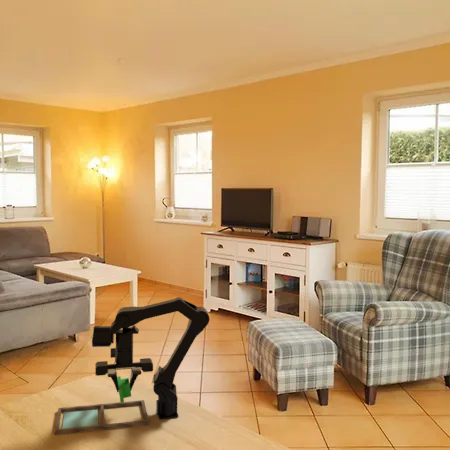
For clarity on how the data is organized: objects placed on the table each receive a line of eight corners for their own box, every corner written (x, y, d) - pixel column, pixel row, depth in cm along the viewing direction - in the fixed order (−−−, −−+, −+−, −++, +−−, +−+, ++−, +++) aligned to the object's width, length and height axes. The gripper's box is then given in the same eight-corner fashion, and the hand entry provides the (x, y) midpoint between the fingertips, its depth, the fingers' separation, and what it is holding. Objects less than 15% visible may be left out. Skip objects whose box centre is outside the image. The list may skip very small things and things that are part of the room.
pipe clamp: (132, 400, 158) (130, 387, 157) (120, 403, 157) (118, 389, 156) (129, 386, 168) (127, 374, 168) (118, 389, 168) (117, 376, 167)
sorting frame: (143, 403, 172) (143, 400, 172) (148, 424, 157) (148, 421, 157) (58, 411, 164) (58, 408, 164) (54, 434, 149) (54, 430, 149)
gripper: (149, 337, 171) (149, 379, 172) (95, 340, 166) (95, 384, 167) (153, 347, 160) (152, 392, 161) (95, 350, 155) (95, 397, 156)
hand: (124, 391), depth 162 cm, fingers closed on pipe clamp, 4 cm apart
